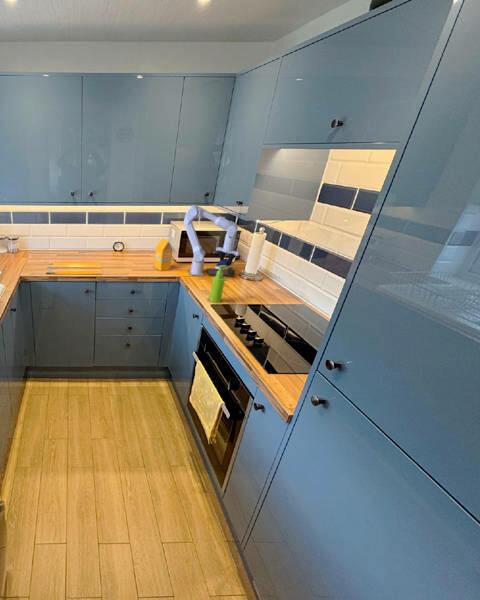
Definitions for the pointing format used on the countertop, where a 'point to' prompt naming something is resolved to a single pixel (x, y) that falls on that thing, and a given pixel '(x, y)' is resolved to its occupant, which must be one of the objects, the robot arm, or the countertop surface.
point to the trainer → (223, 262)
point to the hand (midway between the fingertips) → (225, 263)
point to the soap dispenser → (217, 285)
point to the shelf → (227, 272)
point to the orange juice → (163, 255)
